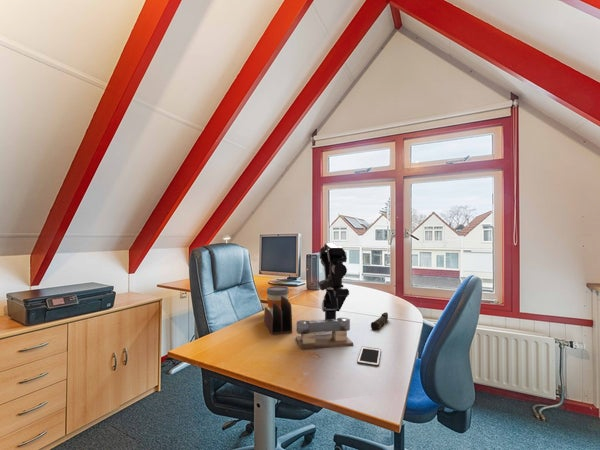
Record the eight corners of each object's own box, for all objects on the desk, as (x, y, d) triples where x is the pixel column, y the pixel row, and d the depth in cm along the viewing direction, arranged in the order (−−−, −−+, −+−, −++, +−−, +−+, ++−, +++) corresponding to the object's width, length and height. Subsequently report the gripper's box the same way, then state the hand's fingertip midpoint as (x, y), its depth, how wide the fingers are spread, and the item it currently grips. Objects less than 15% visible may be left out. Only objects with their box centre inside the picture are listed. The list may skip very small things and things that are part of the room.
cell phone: (381, 351, 114) (381, 348, 114) (378, 368, 100) (378, 365, 100) (361, 348, 117) (361, 346, 117) (356, 364, 103) (356, 361, 103)
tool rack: (295, 338, 126) (295, 327, 126) (342, 335, 131) (342, 324, 131) (301, 350, 114) (301, 337, 114) (353, 345, 119) (353, 333, 119)
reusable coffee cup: (262, 315, 159) (262, 288, 160) (275, 310, 170) (275, 285, 170) (280, 319, 153) (280, 291, 153) (293, 313, 163) (293, 287, 164)
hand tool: (378, 331, 136) (378, 321, 136) (370, 329, 139) (370, 319, 139) (392, 321, 151) (392, 312, 151) (385, 319, 154) (385, 311, 154)
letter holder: (282, 320, 152) (282, 293, 152) (292, 333, 133) (292, 303, 133) (263, 322, 149) (264, 295, 149) (271, 335, 130) (271, 304, 130)
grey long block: (346, 326, 128) (346, 317, 128) (351, 330, 122) (351, 321, 122) (295, 330, 123) (295, 320, 123) (298, 334, 117) (298, 325, 117)
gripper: (314, 271, 142) (314, 302, 142) (325, 277, 124) (325, 313, 123) (335, 270, 144) (335, 301, 144) (349, 276, 126) (349, 311, 126)
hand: (335, 306), depth 134 cm, fingers open, 9 cm apart
